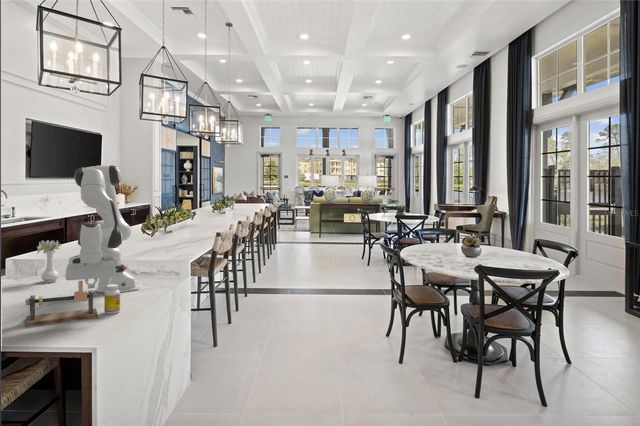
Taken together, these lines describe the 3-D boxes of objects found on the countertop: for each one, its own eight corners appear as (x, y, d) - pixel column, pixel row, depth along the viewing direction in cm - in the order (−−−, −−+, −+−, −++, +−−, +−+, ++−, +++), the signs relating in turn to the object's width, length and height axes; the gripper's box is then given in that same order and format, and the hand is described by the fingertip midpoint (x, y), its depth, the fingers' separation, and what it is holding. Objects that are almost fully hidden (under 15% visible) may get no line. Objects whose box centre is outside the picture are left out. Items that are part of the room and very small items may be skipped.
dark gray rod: (90, 298, 195) (90, 291, 195) (90, 300, 192) (90, 293, 192) (26, 305, 182) (26, 296, 182) (25, 307, 179) (25, 299, 179)
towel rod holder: (96, 311, 200) (96, 288, 199) (97, 318, 191) (97, 293, 190) (26, 319, 186) (26, 294, 185) (24, 326, 177) (24, 300, 176)
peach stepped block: (86, 298, 195) (86, 279, 194) (87, 300, 191) (87, 281, 190) (74, 299, 192) (74, 280, 191) (74, 302, 188) (74, 282, 188)
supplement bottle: (116, 314, 196) (116, 287, 196) (101, 314, 196) (101, 287, 195) (122, 310, 203) (122, 283, 202) (108, 310, 203) (108, 283, 202)
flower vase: (59, 277, 265) (58, 237, 263) (64, 283, 251) (64, 241, 249) (34, 279, 257) (33, 238, 255) (38, 286, 243) (38, 242, 241)
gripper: (115, 255, 200) (115, 284, 201) (65, 258, 190) (65, 288, 191) (117, 257, 195) (117, 287, 196) (65, 260, 184) (65, 291, 185)
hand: (91, 288), depth 193 cm, fingers closed
